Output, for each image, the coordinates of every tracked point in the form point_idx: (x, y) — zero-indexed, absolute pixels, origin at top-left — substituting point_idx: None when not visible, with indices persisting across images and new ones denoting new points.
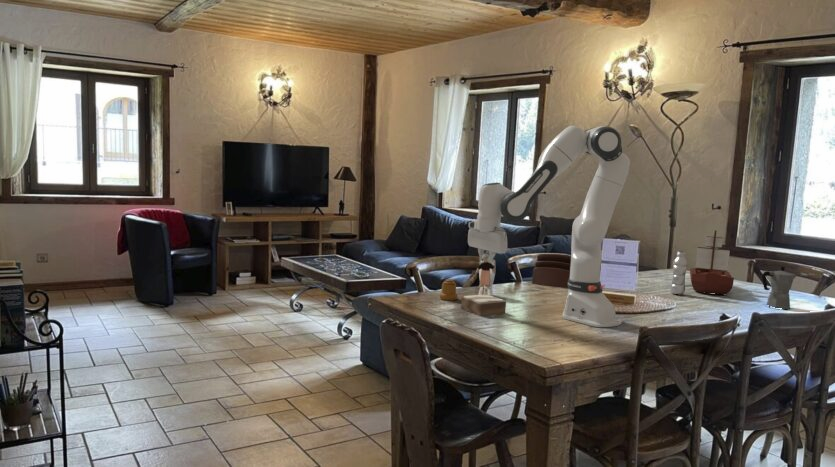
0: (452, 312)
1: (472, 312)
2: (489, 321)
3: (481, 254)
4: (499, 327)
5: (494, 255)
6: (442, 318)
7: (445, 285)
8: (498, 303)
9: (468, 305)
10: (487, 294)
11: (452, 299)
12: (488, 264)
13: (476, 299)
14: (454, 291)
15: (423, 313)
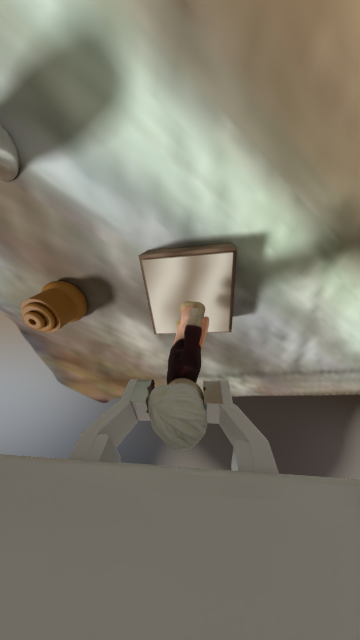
0: None
1: None
2: (270, 322)
3: (128, 425)
4: (317, 329)
5: (256, 430)
6: (213, 377)
7: (57, 329)
8: (234, 276)
9: None
10: (13, 158)
11: (86, 302)
12: (198, 373)
13: None
14: (67, 302)
15: None
